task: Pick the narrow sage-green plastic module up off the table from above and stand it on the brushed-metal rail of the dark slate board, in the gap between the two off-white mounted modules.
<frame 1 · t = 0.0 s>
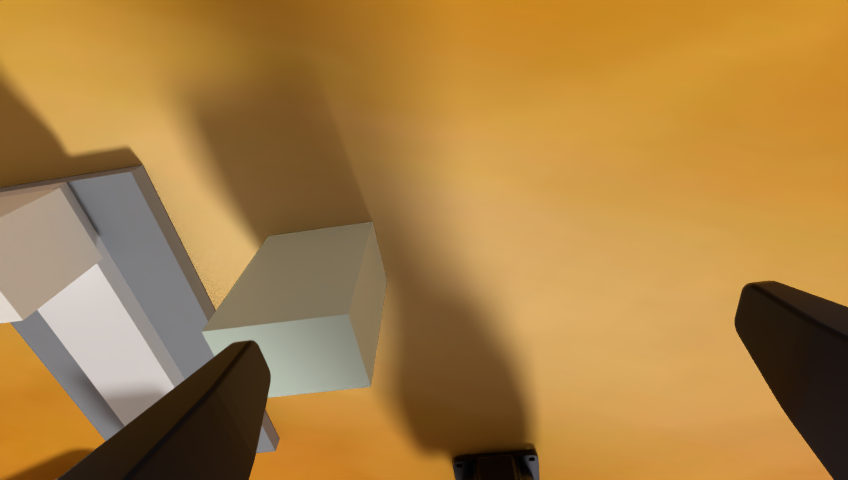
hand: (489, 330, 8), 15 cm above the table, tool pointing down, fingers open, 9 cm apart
rail board: (137, 339, 28), on the table
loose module: (329, 259, 25), on the table
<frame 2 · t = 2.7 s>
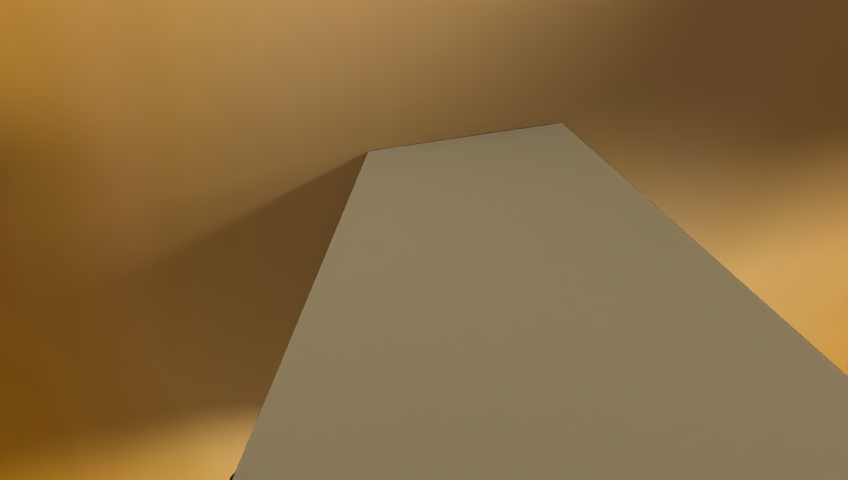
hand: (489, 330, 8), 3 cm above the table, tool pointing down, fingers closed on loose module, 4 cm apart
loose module: (476, 259, 10), on the table, touching gripper
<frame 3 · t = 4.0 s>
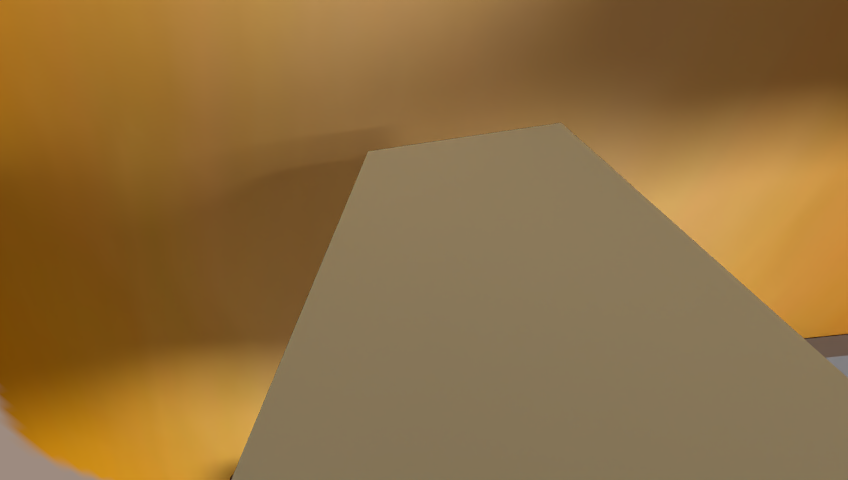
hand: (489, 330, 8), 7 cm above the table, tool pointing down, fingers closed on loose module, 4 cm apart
rail board: (581, 454, 20), on the table
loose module: (476, 259, 10), point 4 cm above the table, touching gripper
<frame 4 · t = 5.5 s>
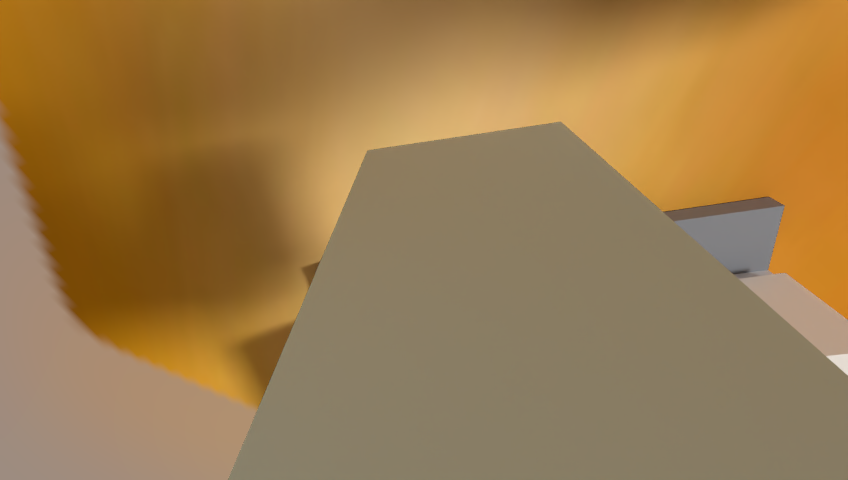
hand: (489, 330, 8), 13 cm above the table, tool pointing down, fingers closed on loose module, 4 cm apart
rail board: (538, 323, 24), on the table
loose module: (475, 259, 10), point 10 cm above the table, touching gripper
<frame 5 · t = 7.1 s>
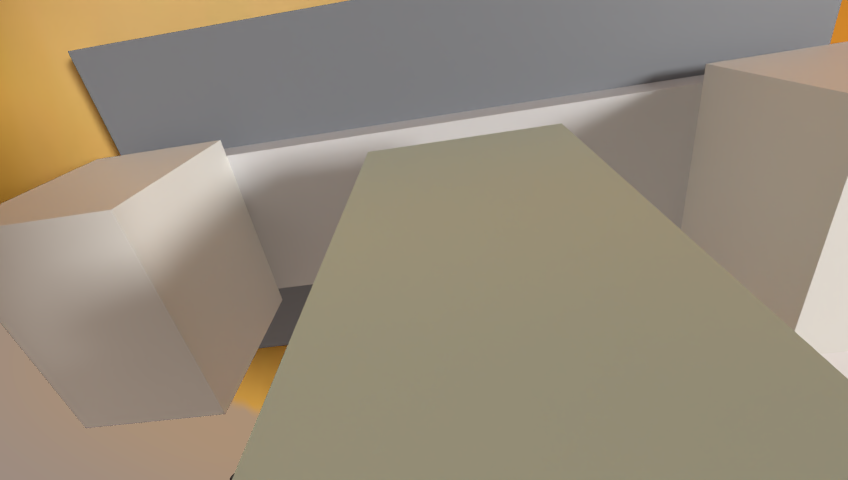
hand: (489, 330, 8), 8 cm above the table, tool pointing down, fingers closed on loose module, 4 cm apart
rail board: (459, 177, 15), on the table
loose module: (476, 260, 10), point 6 cm above the table, touching gripper
when the fingers open (6 cm above the table, at t = 8.2 s): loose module drops 1 cm, resting on rail board.
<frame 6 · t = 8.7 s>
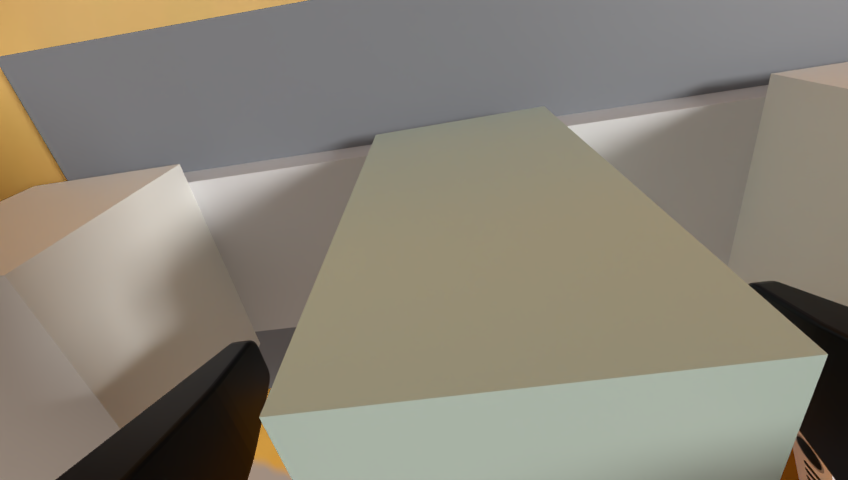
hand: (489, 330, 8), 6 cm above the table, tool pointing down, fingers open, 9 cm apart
rail board: (465, 202, 13), on the table
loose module: (472, 231, 11), point 2 cm above the table, touching rail board
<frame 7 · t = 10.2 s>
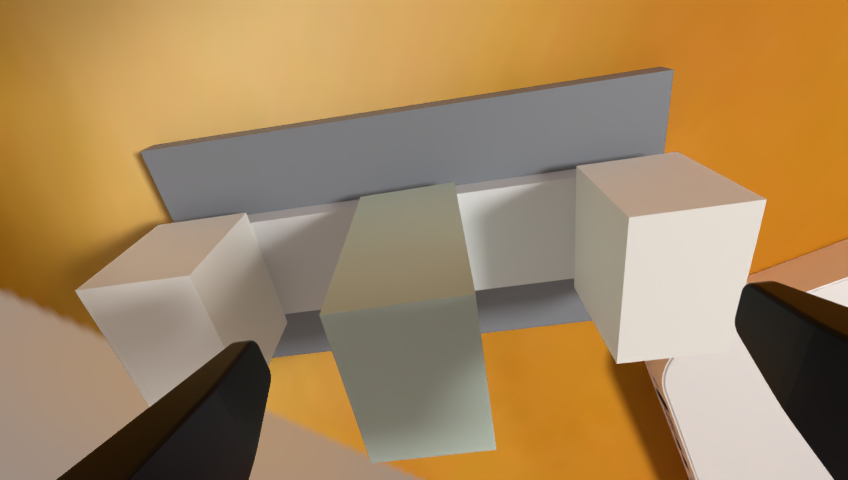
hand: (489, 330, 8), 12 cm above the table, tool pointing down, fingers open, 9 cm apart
computer: (847, 373, 26), on the table
rail board: (418, 231, 21), on the table
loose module: (419, 251, 19), point 2 cm above the table, touching rail board
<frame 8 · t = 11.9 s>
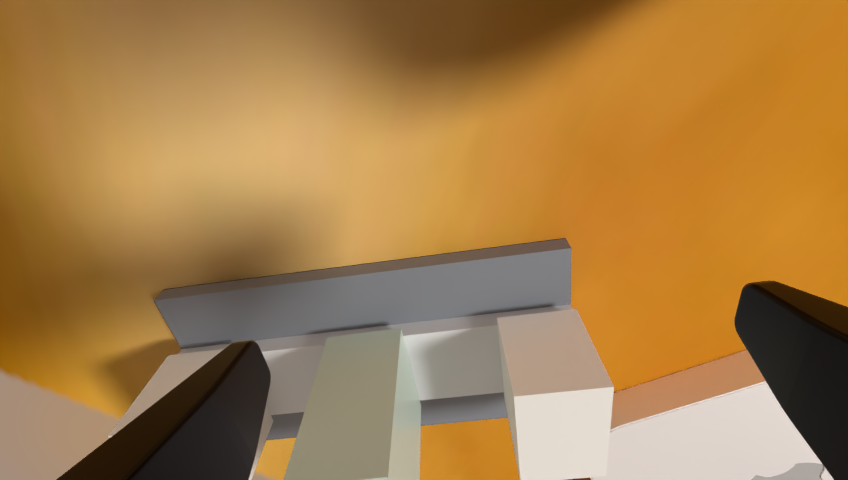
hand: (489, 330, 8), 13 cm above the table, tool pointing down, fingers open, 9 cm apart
computer: (753, 448, 31), on the table
rail board: (379, 348, 26), on the table
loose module: (376, 373, 24), point 2 cm above the table, touching rail board
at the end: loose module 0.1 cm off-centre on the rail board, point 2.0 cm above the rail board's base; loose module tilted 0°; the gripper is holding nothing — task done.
